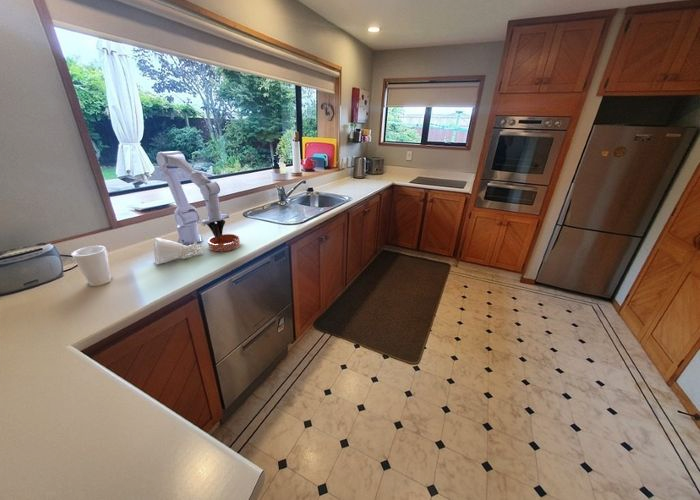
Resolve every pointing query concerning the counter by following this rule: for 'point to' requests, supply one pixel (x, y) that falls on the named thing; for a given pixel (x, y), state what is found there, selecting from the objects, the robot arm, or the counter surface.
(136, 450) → the counter surface
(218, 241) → the stick
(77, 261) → the foam cup
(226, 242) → the bowl
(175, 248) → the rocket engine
